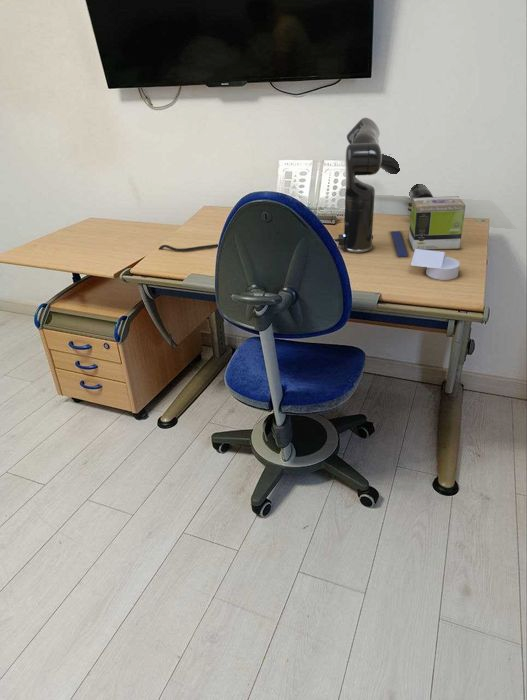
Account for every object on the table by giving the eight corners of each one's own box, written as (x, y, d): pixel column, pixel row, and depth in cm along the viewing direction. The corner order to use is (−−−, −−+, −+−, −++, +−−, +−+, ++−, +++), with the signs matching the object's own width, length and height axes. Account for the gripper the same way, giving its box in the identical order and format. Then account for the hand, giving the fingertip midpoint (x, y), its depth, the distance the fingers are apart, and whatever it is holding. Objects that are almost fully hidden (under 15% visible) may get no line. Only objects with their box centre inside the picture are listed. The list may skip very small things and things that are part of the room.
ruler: (398, 256, 162) (398, 255, 161) (391, 232, 180) (391, 231, 180) (407, 256, 161) (407, 255, 161) (399, 232, 179) (399, 231, 179)
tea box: (453, 238, 172) (459, 195, 163) (459, 249, 163) (466, 204, 155) (407, 239, 173) (412, 196, 165) (412, 250, 165) (416, 206, 157)
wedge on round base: (409, 275, 150) (455, 281, 145) (412, 254, 146) (459, 259, 141) (415, 263, 156) (459, 269, 151) (418, 243, 153) (463, 247, 148)
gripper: (438, 208, 190) (447, 224, 176) (403, 209, 192) (408, 225, 178) (441, 188, 186) (450, 203, 172) (404, 189, 188) (410, 204, 174)
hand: (429, 214), depth 175 cm, fingers closed
